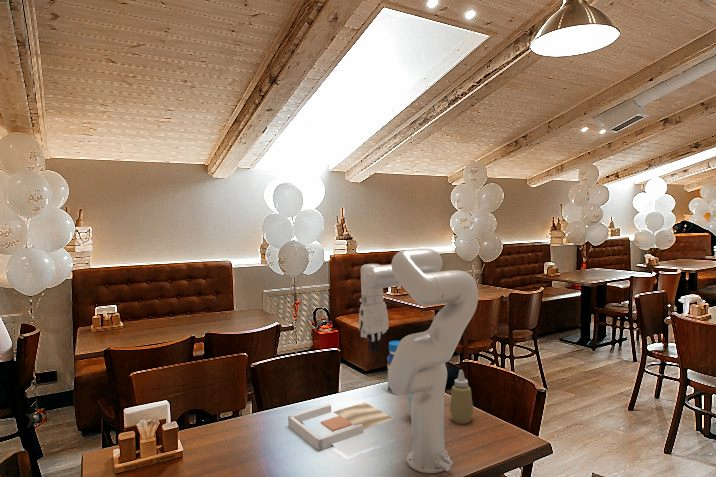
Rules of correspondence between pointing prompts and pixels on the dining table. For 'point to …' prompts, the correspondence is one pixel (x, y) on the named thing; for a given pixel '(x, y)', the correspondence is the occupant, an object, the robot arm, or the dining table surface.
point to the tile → (336, 423)
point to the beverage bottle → (391, 356)
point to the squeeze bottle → (461, 400)
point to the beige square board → (363, 415)
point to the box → (314, 439)
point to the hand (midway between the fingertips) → (374, 351)
